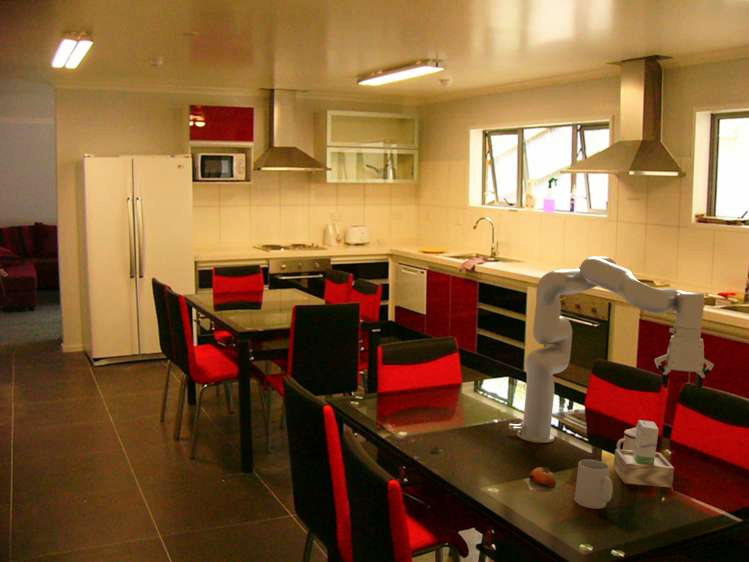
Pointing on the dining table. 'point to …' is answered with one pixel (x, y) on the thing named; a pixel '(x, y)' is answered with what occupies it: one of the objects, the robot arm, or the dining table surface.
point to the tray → (643, 470)
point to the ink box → (645, 442)
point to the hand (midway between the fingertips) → (681, 388)
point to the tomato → (543, 476)
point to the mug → (593, 484)
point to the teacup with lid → (628, 439)
